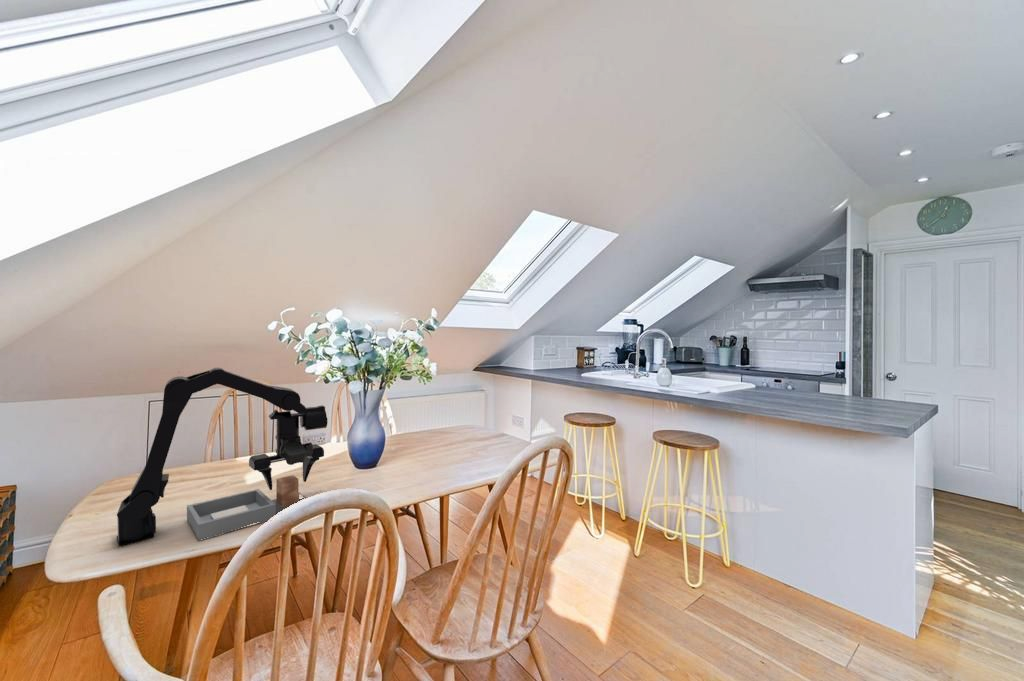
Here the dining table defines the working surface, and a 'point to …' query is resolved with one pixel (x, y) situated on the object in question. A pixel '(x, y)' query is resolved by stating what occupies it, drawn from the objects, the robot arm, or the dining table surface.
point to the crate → (229, 513)
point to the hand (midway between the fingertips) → (288, 485)
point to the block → (287, 490)
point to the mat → (278, 507)
